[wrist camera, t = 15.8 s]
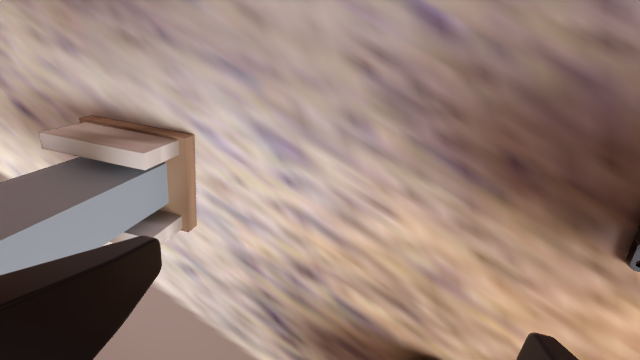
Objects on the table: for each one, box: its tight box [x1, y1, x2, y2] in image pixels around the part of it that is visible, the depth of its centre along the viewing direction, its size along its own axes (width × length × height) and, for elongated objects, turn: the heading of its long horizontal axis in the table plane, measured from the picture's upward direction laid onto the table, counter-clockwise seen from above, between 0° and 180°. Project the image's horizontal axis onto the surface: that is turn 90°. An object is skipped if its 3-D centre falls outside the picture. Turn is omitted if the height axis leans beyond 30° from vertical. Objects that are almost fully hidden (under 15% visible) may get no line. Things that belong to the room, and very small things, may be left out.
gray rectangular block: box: [0, 157, 169, 275], centre depth 18 cm, size 6×3×12 cm, turn 83°
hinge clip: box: [39, 116, 196, 246], centre depth 22 cm, size 8×7×4 cm
